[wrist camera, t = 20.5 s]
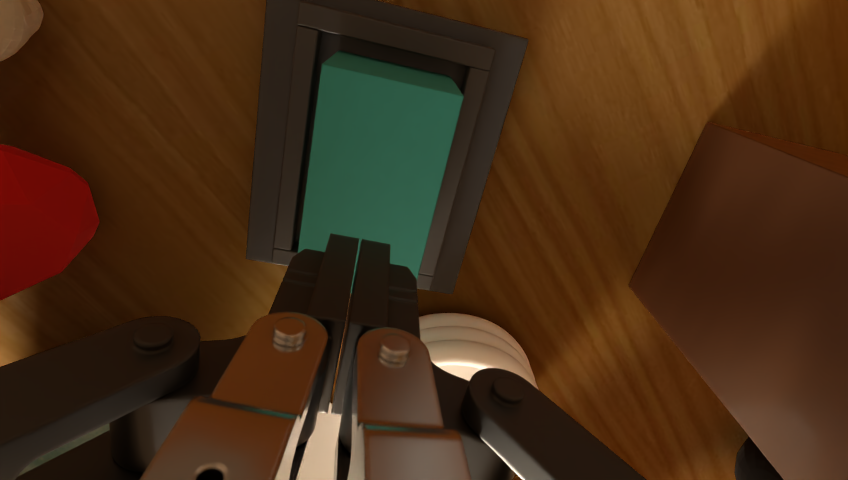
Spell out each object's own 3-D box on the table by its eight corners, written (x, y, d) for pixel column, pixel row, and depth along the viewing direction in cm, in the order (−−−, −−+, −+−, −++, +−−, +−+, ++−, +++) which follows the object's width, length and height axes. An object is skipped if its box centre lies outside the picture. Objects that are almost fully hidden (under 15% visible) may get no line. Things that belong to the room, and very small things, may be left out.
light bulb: (995, 525, 27) (855, 566, 24) (869, 523, 33) (739, 556, 29) (924, 402, 30) (789, 421, 27) (820, 419, 36) (696, 437, 32)
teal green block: (338, 49, 19) (321, 63, 15) (450, 76, 19) (464, 95, 15) (312, 232, 22) (293, 284, 18) (409, 250, 23) (411, 303, 19)
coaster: (489, 280, 25) (502, 320, 22) (552, 406, 29) (570, 454, 26) (323, 351, 27) (313, 398, 24) (404, 461, 31) (405, 514, 28)
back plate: (277, -25, 19) (261, -29, 17) (520, 36, 20) (535, 41, 18) (254, 244, 24) (238, 269, 22) (449, 279, 25) (454, 306, 23)
